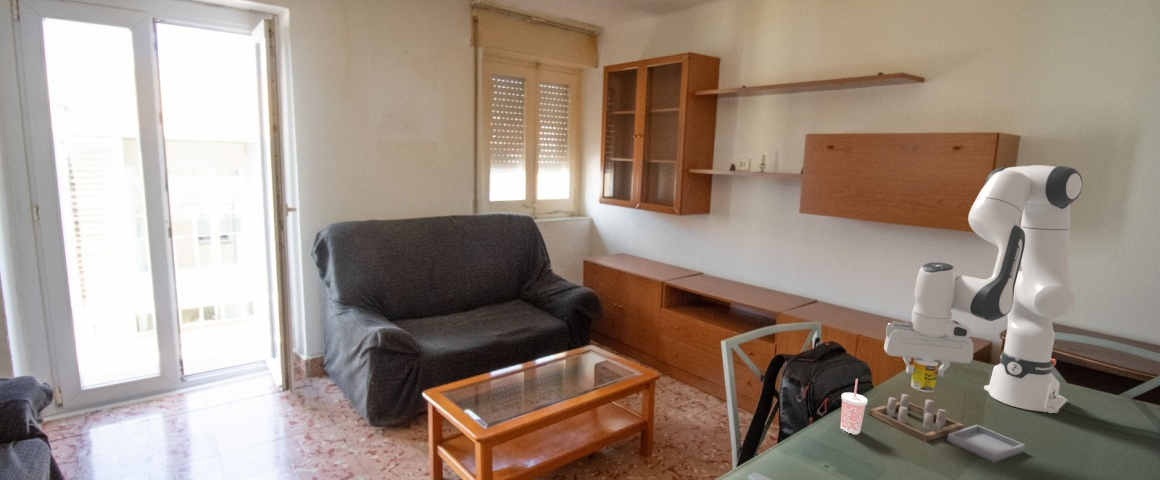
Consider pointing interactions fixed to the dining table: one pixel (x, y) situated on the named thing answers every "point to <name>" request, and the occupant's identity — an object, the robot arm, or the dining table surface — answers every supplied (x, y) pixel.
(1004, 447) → the tray
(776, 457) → the dining table surface
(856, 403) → the beverage cup
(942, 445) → the dining table surface
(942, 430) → the wooden peg board
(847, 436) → the dining table surface
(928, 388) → the supplement bottle
